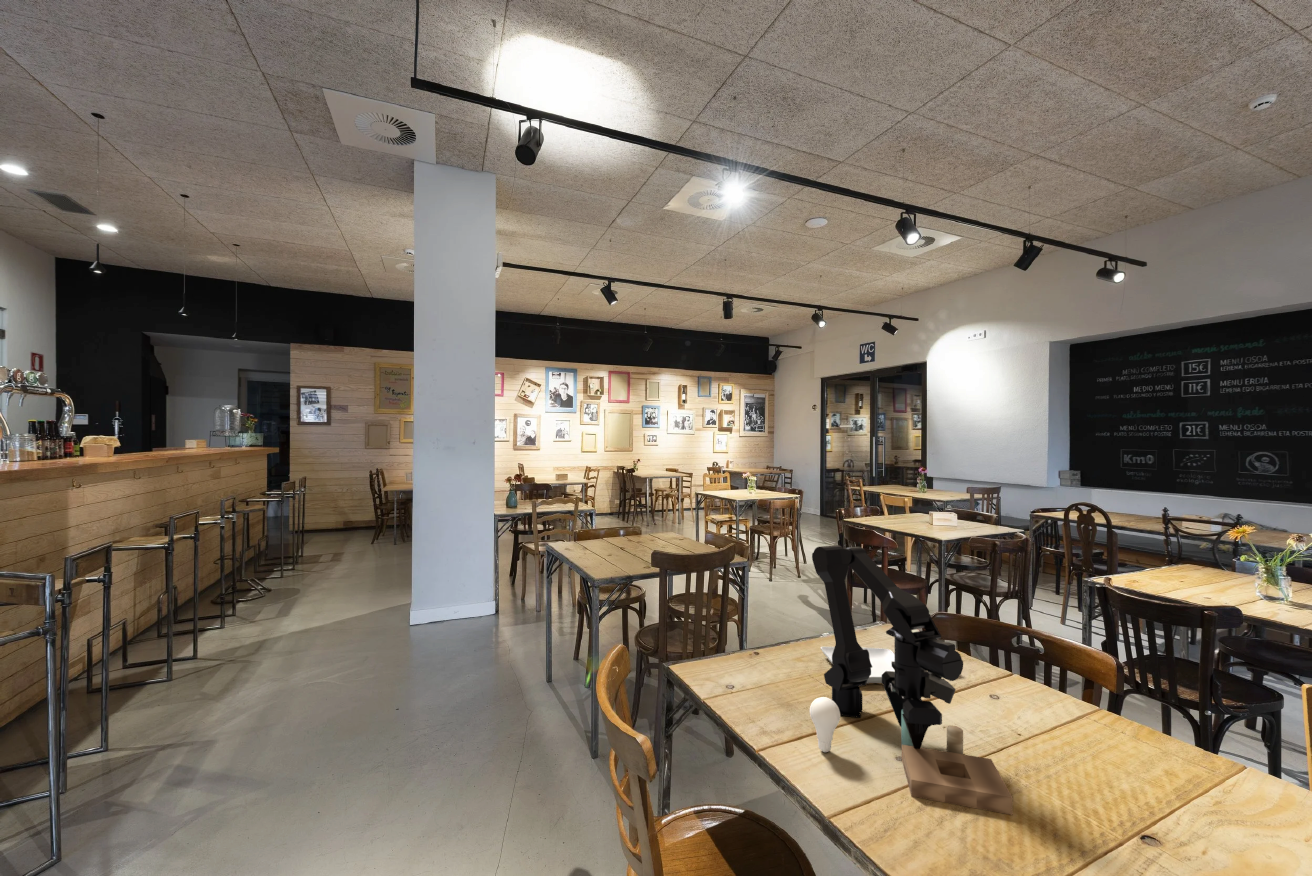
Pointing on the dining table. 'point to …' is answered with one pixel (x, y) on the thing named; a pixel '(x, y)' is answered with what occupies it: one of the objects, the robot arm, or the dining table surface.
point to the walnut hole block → (955, 779)
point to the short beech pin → (954, 739)
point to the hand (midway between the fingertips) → (909, 737)
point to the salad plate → (872, 661)
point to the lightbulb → (824, 720)
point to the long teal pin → (904, 733)
